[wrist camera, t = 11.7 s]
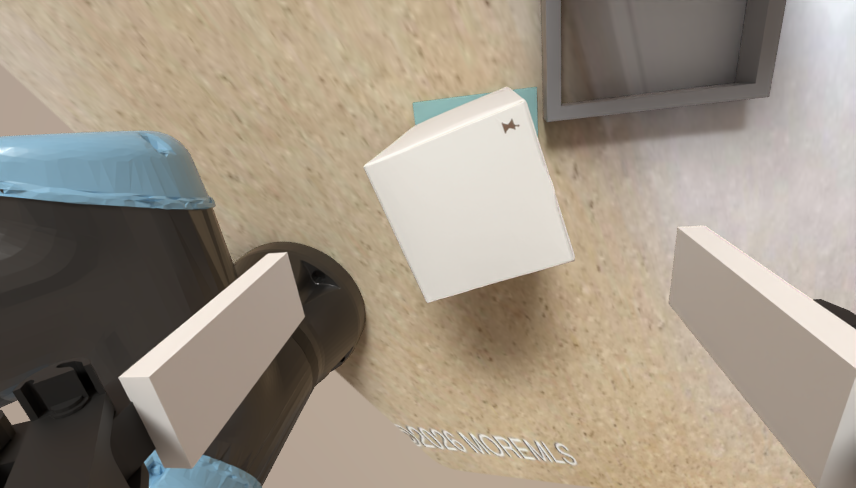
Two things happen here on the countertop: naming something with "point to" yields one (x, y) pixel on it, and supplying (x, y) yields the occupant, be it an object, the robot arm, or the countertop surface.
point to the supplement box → (471, 197)
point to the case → (749, 84)
